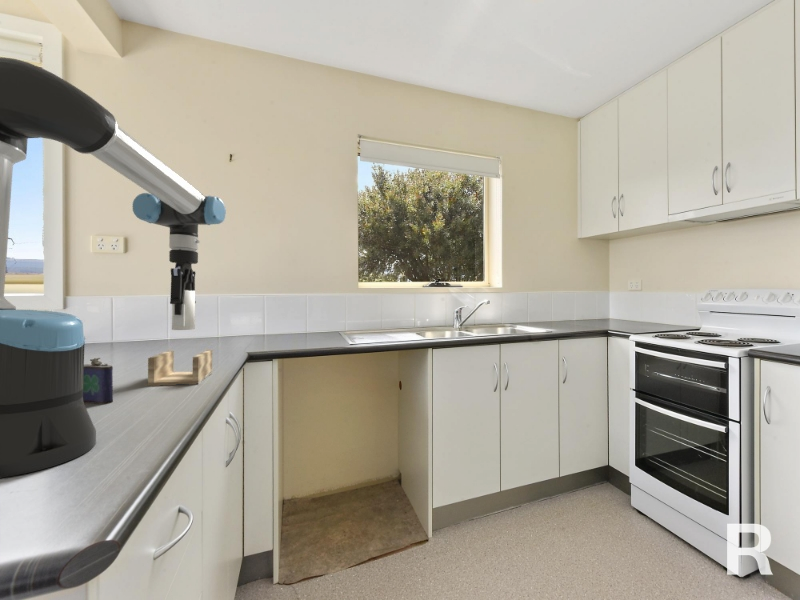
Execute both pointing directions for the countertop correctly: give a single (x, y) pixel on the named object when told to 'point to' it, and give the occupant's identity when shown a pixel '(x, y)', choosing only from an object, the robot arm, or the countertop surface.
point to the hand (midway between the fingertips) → (183, 324)
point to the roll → (187, 312)
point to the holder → (164, 375)
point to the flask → (97, 382)
